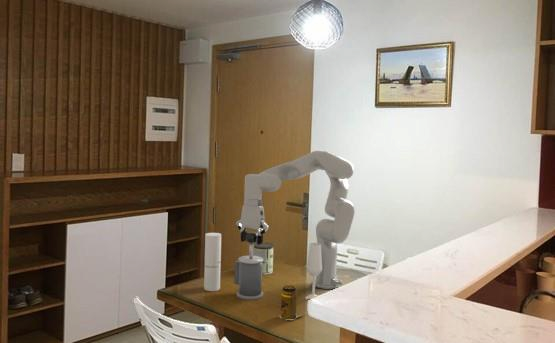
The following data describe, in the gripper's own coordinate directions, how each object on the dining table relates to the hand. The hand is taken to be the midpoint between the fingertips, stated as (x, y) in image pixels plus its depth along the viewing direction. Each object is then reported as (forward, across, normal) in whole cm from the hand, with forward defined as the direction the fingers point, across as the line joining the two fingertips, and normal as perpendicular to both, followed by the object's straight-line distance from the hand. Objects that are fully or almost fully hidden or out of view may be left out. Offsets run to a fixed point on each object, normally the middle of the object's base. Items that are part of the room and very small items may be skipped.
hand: (251, 242), depth 215 cm
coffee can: (+24, +16, -34) cm, 45 cm away
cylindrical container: (+24, +19, +3) cm, 31 cm away
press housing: (+24, +1, 0) cm, 24 cm away
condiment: (+24, -27, +11) cm, 38 cm away
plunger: (+7, 0, 0) cm, 7 cm away
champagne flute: (+24, -24, -14) cm, 37 cm away
